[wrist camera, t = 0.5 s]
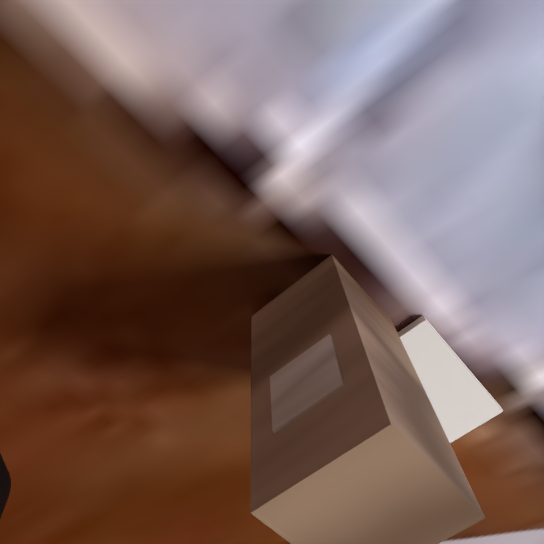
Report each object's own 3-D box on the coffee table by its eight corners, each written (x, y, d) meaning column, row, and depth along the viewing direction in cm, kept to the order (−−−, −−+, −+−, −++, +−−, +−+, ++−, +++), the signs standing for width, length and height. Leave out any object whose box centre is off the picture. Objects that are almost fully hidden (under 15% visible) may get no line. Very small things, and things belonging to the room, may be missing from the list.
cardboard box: (249, 314, 22) (247, 511, 13) (330, 252, 21) (388, 421, 12) (314, 376, 24) (352, 589, 15) (392, 322, 23) (485, 518, 14)
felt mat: (301, 398, 24) (302, 404, 24) (422, 314, 22) (425, 319, 22) (384, 475, 27) (386, 481, 26) (499, 405, 25) (503, 411, 25)
